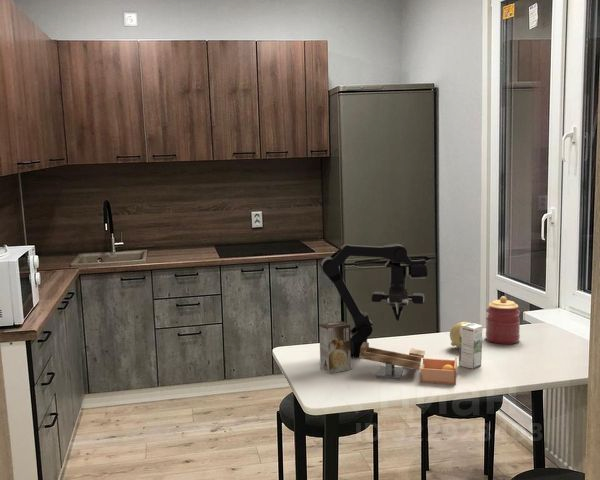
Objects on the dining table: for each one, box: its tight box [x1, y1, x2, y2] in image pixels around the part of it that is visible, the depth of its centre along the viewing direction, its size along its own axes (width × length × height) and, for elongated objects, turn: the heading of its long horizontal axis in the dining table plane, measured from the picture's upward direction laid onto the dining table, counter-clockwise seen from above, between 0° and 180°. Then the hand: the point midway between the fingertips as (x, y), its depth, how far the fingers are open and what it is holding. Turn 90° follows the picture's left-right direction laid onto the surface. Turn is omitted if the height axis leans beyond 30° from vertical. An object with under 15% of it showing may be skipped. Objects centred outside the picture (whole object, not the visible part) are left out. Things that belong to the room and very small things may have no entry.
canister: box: [485, 295, 521, 345], centre depth 253 cm, size 13×13×18 cm
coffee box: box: [318, 320, 352, 375], centre depth 221 cm, size 9×6×16 cm
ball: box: [442, 365, 454, 370], centre depth 211 cm, size 4×4×4 cm
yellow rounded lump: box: [449, 321, 470, 348], centre depth 243 cm, size 10×12×11 cm
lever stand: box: [375, 363, 405, 381], centre depth 216 cm, size 8×10×5 cm
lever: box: [358, 341, 426, 371], centre depth 220 cm, size 20×16×4 cm
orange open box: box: [419, 357, 458, 386], centre depth 212 cm, size 11×11×6 cm
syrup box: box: [458, 322, 484, 370], centre depth 223 cm, size 6×6×14 cm
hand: (397, 320), depth 236 cm, fingers closed
